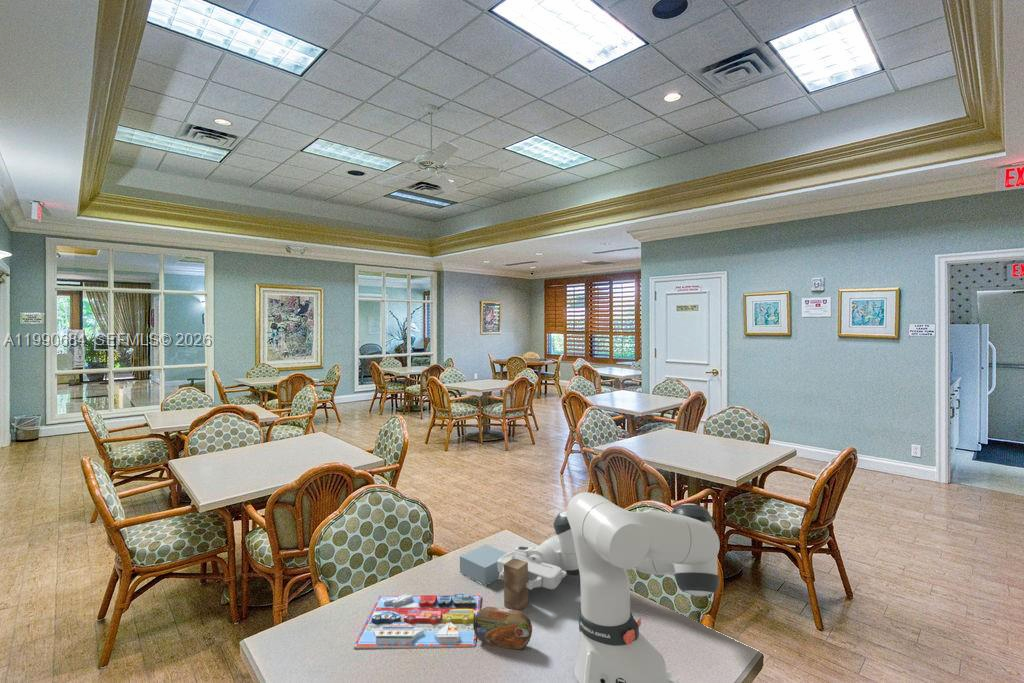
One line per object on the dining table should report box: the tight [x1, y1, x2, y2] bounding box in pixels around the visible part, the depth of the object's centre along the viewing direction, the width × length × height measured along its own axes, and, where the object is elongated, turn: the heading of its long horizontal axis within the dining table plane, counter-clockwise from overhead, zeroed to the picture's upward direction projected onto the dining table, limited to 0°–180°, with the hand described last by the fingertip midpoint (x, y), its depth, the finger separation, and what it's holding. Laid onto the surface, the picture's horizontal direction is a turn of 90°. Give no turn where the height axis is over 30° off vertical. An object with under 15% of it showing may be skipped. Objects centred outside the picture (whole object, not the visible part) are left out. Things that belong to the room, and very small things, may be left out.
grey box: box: [459, 544, 508, 586], centre depth 155 cm, size 12×12×6 cm
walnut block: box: [503, 558, 529, 611], centre depth 136 cm, size 5×5×12 cm
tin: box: [473, 606, 533, 650], centre depth 119 cm, size 15×3×8 cm, turn 73°
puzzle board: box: [353, 593, 482, 650], centre depth 129 cm, size 30×23×3 cm
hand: (514, 581), depth 135 cm, fingers open, 8 cm apart
